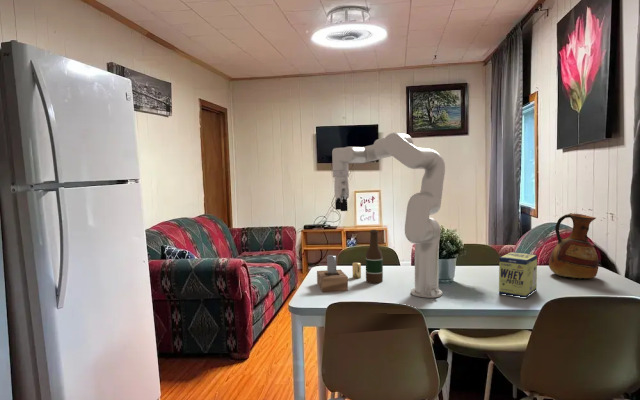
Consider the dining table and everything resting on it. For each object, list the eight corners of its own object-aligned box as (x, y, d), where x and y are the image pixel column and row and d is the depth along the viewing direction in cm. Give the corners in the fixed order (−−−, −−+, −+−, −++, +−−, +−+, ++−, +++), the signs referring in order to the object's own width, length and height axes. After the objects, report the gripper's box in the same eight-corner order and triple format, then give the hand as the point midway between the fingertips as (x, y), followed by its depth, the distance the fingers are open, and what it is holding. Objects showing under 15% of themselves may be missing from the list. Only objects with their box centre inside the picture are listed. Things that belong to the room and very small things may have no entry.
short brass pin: (361, 278, 204) (361, 263, 204) (353, 278, 203) (353, 264, 203) (359, 276, 208) (359, 262, 208) (351, 276, 207) (351, 262, 207)
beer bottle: (382, 284, 193) (382, 231, 192) (365, 283, 195) (364, 231, 193) (383, 279, 201) (382, 229, 199) (366, 279, 203) (366, 228, 201)
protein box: (498, 294, 174) (498, 257, 173) (510, 286, 186) (511, 251, 185) (525, 299, 167) (526, 260, 166) (537, 291, 179) (537, 254, 178)
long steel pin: (337, 288, 188) (337, 256, 187) (328, 288, 187) (328, 257, 186) (335, 285, 192) (335, 254, 191) (326, 286, 191) (326, 255, 190)
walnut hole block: (347, 290, 183) (347, 276, 183) (322, 292, 182) (322, 278, 181) (340, 282, 197) (340, 269, 197) (317, 283, 195) (317, 270, 195)
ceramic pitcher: (596, 284, 187) (598, 216, 185) (545, 278, 199) (546, 214, 197) (599, 275, 203) (601, 212, 201) (552, 270, 215) (553, 210, 213)
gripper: (353, 174, 194) (354, 211, 195) (343, 174, 211) (344, 208, 212) (337, 174, 193) (338, 212, 194) (328, 174, 210) (329, 209, 211)
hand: (341, 210), depth 203 cm, fingers open, 9 cm apart
